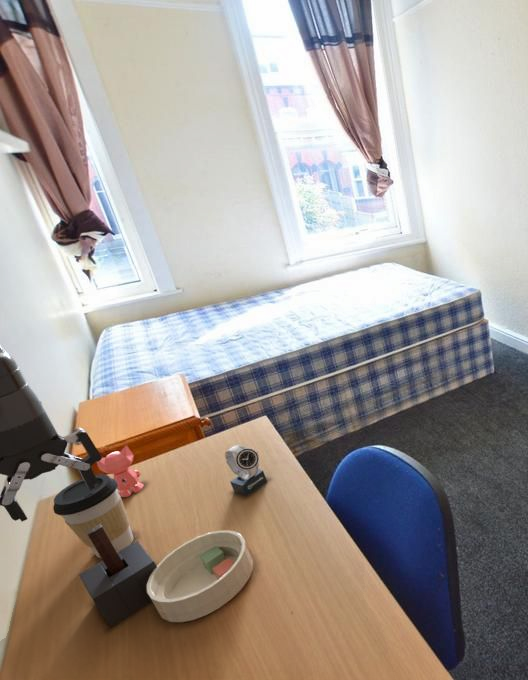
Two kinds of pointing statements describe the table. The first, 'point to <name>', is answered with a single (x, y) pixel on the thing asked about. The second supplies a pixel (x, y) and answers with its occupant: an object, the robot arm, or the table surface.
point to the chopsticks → (105, 549)
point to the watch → (245, 469)
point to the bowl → (198, 577)
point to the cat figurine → (121, 471)
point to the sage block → (212, 558)
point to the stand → (120, 584)
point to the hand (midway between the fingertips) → (59, 502)
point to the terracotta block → (222, 568)
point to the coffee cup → (95, 511)
